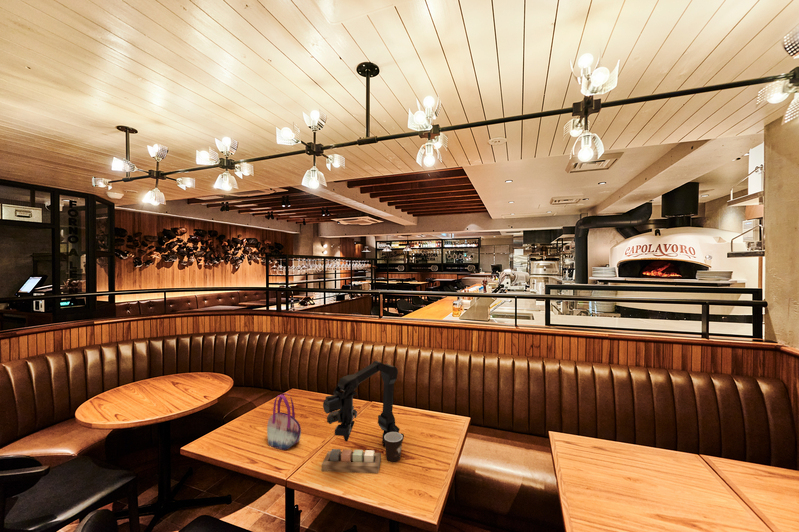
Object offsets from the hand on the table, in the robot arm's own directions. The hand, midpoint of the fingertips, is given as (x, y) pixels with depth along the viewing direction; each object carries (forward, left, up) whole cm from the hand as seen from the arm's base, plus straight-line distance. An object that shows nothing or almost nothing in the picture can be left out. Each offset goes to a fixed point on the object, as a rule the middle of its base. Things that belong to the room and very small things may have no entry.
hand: (346, 440), depth 141 cm
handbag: (+36, -15, -11) cm, 40 cm away
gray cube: (+5, 0, -9) cm, 11 cm away
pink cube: (0, 0, -9) cm, 9 cm away
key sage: (-5, 0, -9) cm, 11 cm away
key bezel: (-3, 0, -11) cm, 11 cm away
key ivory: (-10, 0, -9) cm, 14 cm away
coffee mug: (-22, -7, -11) cm, 26 cm away
